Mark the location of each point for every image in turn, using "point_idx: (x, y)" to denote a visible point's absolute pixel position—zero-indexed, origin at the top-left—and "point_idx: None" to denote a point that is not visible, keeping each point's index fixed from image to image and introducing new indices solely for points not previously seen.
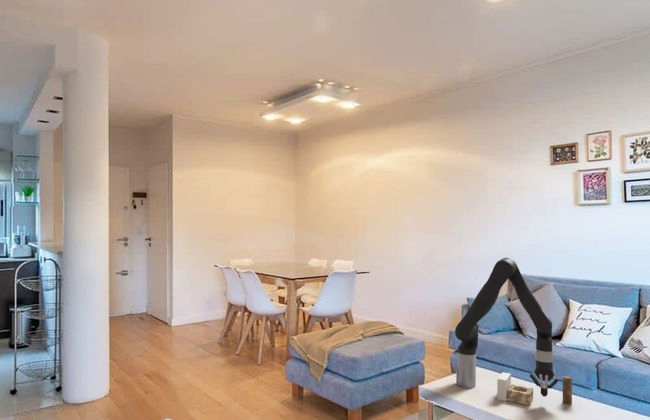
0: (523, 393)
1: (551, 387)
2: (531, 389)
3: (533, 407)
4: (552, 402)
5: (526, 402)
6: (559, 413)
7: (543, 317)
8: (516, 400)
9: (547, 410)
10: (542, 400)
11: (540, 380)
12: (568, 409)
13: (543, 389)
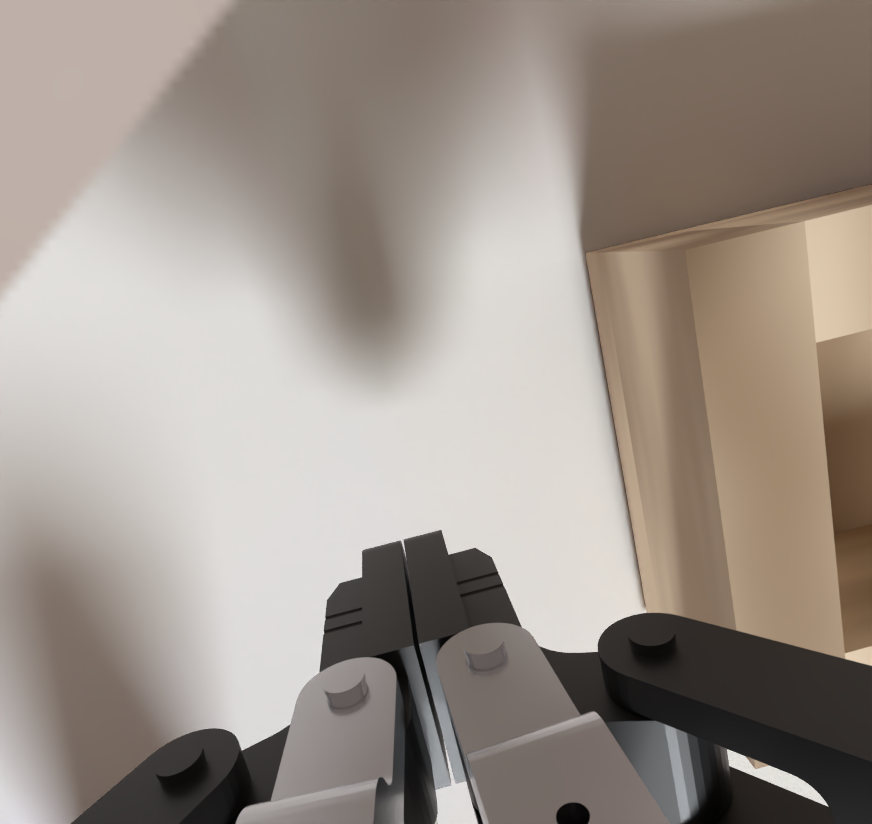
0: (853, 211)
1: (124, 788)
2: None
3: (509, 243)
4: None
5: (667, 235)
6: (36, 339)
7: None
8: (858, 188)
9: (260, 306)
10: None
11: (625, 820)
12: (25, 663)
13: (427, 628)
